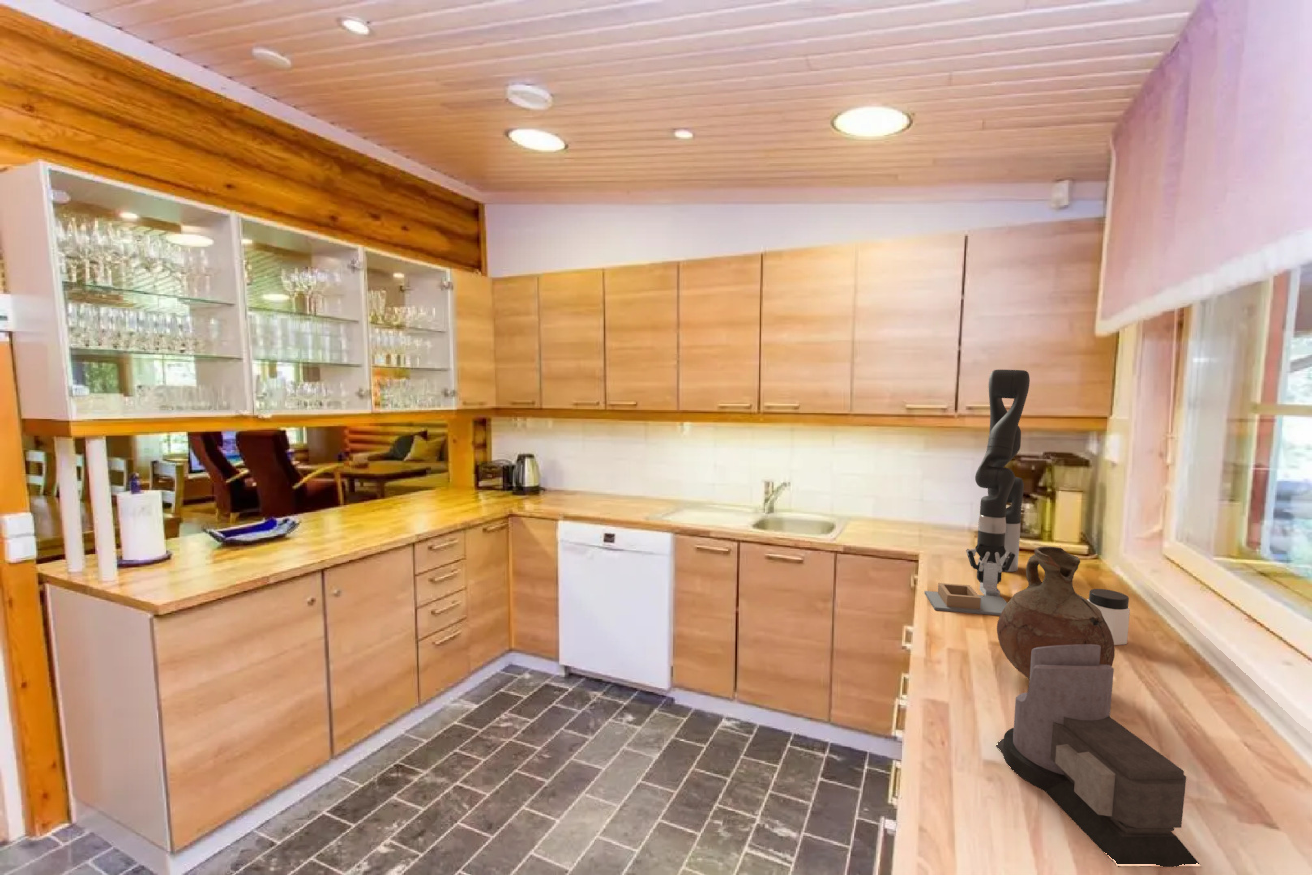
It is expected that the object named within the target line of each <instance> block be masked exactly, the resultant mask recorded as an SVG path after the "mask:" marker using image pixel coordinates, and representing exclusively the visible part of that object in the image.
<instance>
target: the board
mask: <svg viewBox="0 0 1312 875" xmlns="http://www.w3.org/2000/svg"><path fill="white" fill-rule="evenodd" d="M924 595H925V596H926V599H927V600H928V601H929V603H930V605H931V606H932V608H933V609H934V610H935V611H942V612H953V613H966V614H978V615H989V616H999V617H1000V615H1001V613H1002V611H1003V609H1004V608H1005V606H1006V604H1007V603H1008V602H1007V601H1006V600H1005V599H1004V597H1003V596H1000V597H996V596H985V595H984V594H983V595H981V594H978V593H977V592H976V591H975V589H973V587H972V586H971V585H969V584H958V583H957V584H955V583H944V582H938V586H937V591H931V590H924Z"/></svg>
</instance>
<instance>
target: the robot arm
mask: <svg viewBox="0 0 1312 875" xmlns="http://www.w3.org/2000/svg"><path fill="white" fill-rule="evenodd" d="M1029 389H1030V374H1029V372H1028V371H1027V370H1023V369H994V370H992V371H991V373H990V374H989V376H988V399H989V400H988V401H989V414H990V415H989V416H990V418H989V432H988V433H989V436H988V440H987V445H986V451H985V454H984V457H983V459H982V461H981V463H980V464H979V467H978V468H977V470H976V472H975V476H974V477H975V478H974V479H975V480H974V481H975V483H976V484H977V486H978V487H979V488H983V489H987V495H985V496H982V497H981V498H980V506H979V507H980V508H979V516H978V526H977V542H976V543H977V544H976V546H975V547H974V548H971V549H969V548H967V549H966V550H965V552H966V554H967V557H968V561H969V564H970V566H971V568H973V569H974V570H976V580H978V582H979V584H980V583H983V569H984V565H986V562H987V561H992V562H996V563H997V566H998V578H997V585H999V583H1001V581H1002V573H1004V572H1009V573H1010V572H1011V573H1012V572H1017V571H1018V569H1019V567H1018V566H1019V555H1020V553H1019V552H1020V541H1021V540H1020V537H1021V522H1022V506H1023V498H1024V490H1025V488H1024V487H1025V483H1024V480H1023V478H1022V477H1017V476H1015V473H1014V471H1013V470H1012V469H1011V468H1008V467H1006V465H1007V464H1008V463H1009V462H1010V461H1012V459H1013V458H1014V457H1015V456H1017V454H1018V452H1020V449H1021V445H1022V444H1021V442H1022V440H1021V439H1022V431H1021V427H1020V426H1019V423H1020V420H1021V417H1022V414H1023V411H1024V407H1025V404H1026V401H1027V398H1028V393H1029ZM1003 399H1013V402H1012V404H1011V406H1010V408H1009V409H1008V410H1007V409H1006V406H1005V405H1004V402H1003ZM1007 503H1008V504H1010V503H1011V504H1010V506H1008V507H1007ZM976 554H978V556H979V558H978V560H977V563H976V559H975V556H976Z"/></svg>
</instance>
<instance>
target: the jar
mask: <svg viewBox="0 0 1312 875" xmlns="http://www.w3.org/2000/svg"><path fill="white" fill-rule="evenodd" d="M1086 600H1088V601H1089V602H1091V603H1092V604H1093V605H1095V606H1096V607H1097V608H1098V609H1099V610H1100V611H1101V613H1102V616H1103V618H1104V620H1105V622H1106V623H1107V625H1108V627H1109V629H1110V631H1111V634H1112V637H1113V641H1114V646H1121V645H1127V644H1128V637H1129V625H1130V614H1131V613H1130V612H1131V611H1130V610H1131V609H1130V608H1129V602H1130V598H1129V596H1128V595H1126V594H1125V593H1122V592H1120V591H1115V590H1111V589H1105V588H1104V589H1103V588H1092V589H1090V590H1089V592H1088V598H1087V599H1086Z"/></svg>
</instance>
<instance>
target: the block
mask: <svg viewBox="0 0 1312 875" xmlns="http://www.w3.org/2000/svg"><path fill="white" fill-rule="evenodd" d="M997 578H998V566H997V563H996V562H992V561H987V562H986V565H984V569H983V583H980V582H979V591H980V592H981V593H982V594H983V595H984V596H996V597H1001V591H1000V589H998V584H997Z"/></svg>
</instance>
